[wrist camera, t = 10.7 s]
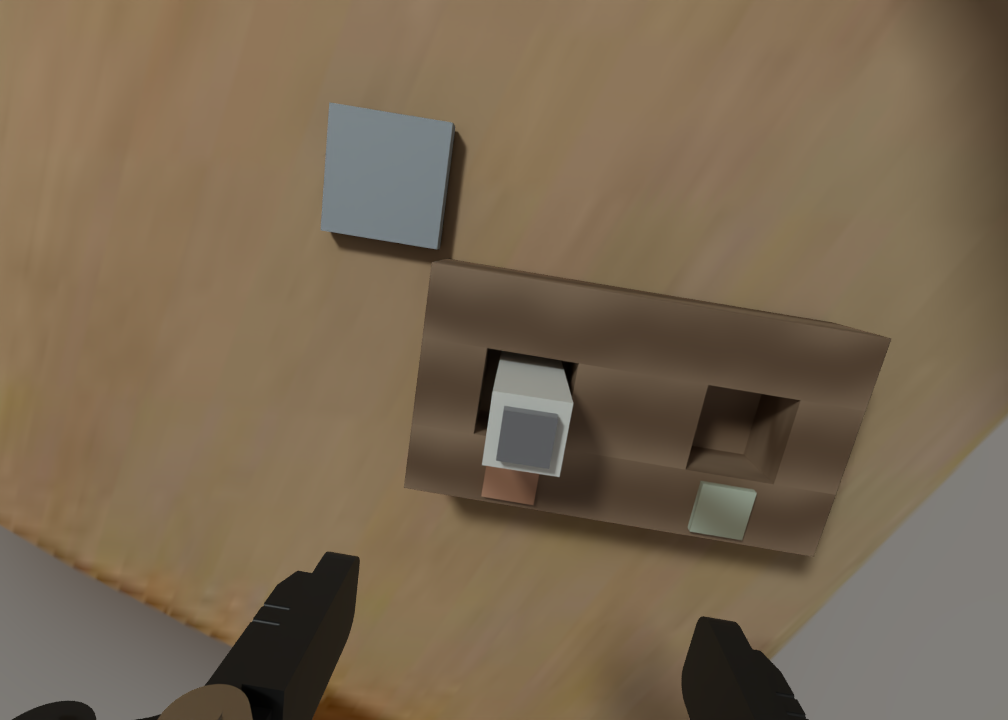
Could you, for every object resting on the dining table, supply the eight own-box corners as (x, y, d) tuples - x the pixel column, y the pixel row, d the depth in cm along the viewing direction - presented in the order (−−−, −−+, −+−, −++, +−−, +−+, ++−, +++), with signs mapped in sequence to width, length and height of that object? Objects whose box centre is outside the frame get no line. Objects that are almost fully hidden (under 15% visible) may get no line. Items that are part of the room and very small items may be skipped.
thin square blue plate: (336, 107, 29) (329, 102, 28) (455, 126, 29) (452, 122, 28) (327, 230, 31) (320, 230, 30) (439, 249, 30) (437, 249, 30)
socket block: (446, 258, 31) (430, 262, 25) (833, 322, 30) (897, 340, 25) (421, 452, 34) (402, 491, 28) (772, 510, 34) (817, 561, 28)
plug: (502, 347, 31) (491, 394, 21) (560, 356, 31) (574, 407, 21) (494, 402, 32) (480, 470, 22) (550, 411, 32) (560, 483, 22)
